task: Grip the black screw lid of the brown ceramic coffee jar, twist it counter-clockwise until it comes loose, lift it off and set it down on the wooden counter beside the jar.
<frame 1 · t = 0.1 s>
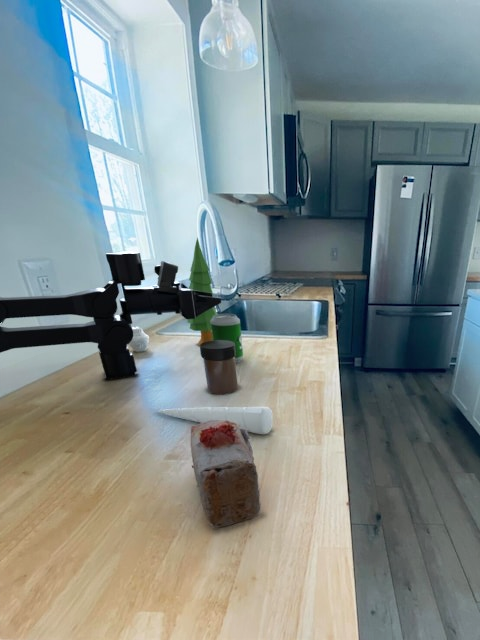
hand: (216, 297, 92), 17 cm above the countertop, tool horizontal, fingers open, 9 cm apart
jar lid: (217, 346, 78), point 10 cm above the countertop, screwed on, not yet turned
decorative tree: (206, 345, 115), on the countertop
coffee jar: (223, 388, 82), on the countertop
food item: (229, 493, 49), on the countertop
soda can: (229, 361, 101), on the countertop
unicorn horn: (214, 425, 67), on the countertop
garlic bulb: (140, 351, 108), on the countertop
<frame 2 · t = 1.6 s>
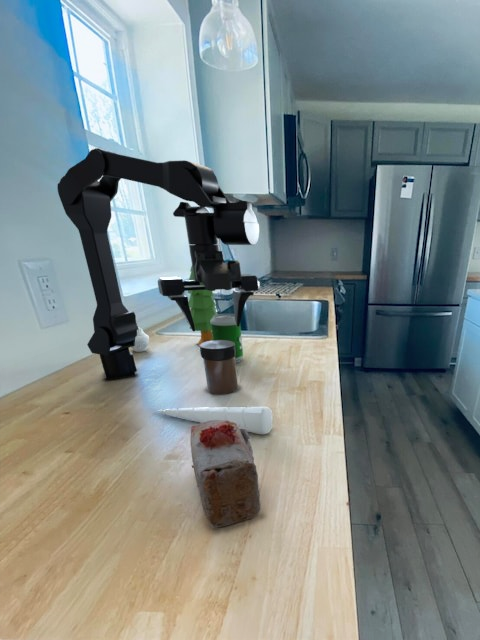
hand: (216, 328, 76), 13 cm above the countertop, tool pointing down, fingers open, 9 cm apart
nothing on the countertop moved.
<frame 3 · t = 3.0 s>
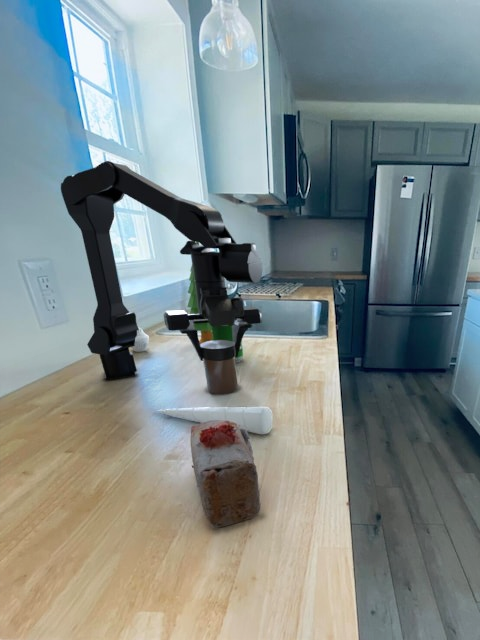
hand: (219, 358, 79), 7 cm above the countertop, tool pointing down, fingers closed on jar lid, 7 cm apart
jar lid: (217, 346, 78), point 10 cm above the countertop, screwed on, not yet turned, touching gripper
everything else where it was.
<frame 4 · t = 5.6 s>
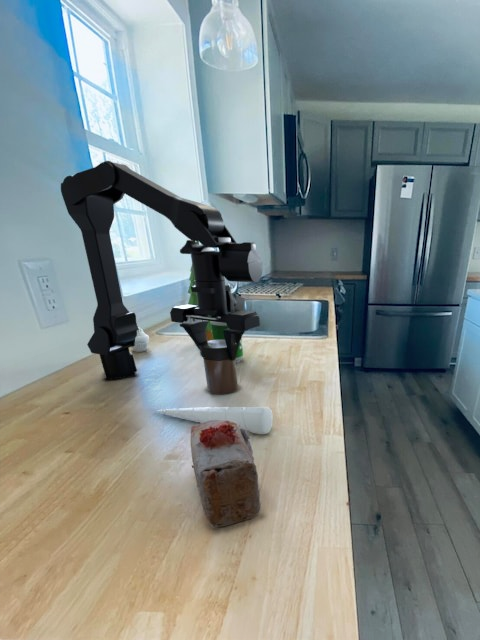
hand: (219, 357, 79), 7 cm above the countertop, tool pointing down, fingers closed on jar lid, 7 cm apart
jar lid: (217, 346, 78), point 10 cm above the countertop, off its thread, touching gripper
everything else where it was.
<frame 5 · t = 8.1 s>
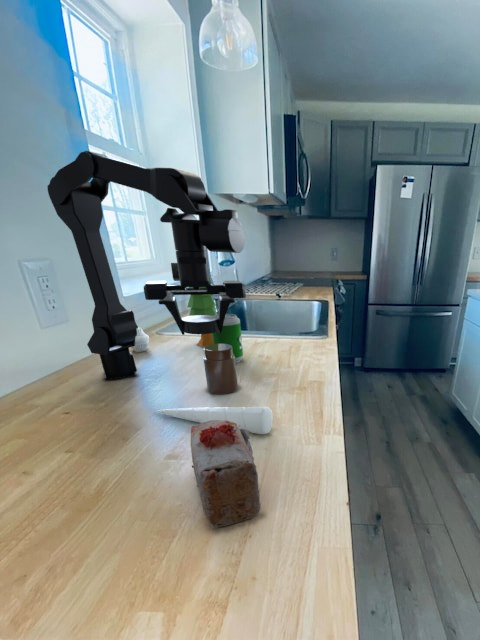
hand: (202, 333, 77), 12 cm above the countertop, tool pointing down, fingers closed on jar lid, 7 cm apart
jar lid: (200, 321, 76), point 15 cm above the countertop, off its thread, touching gripper
everything else where it was.
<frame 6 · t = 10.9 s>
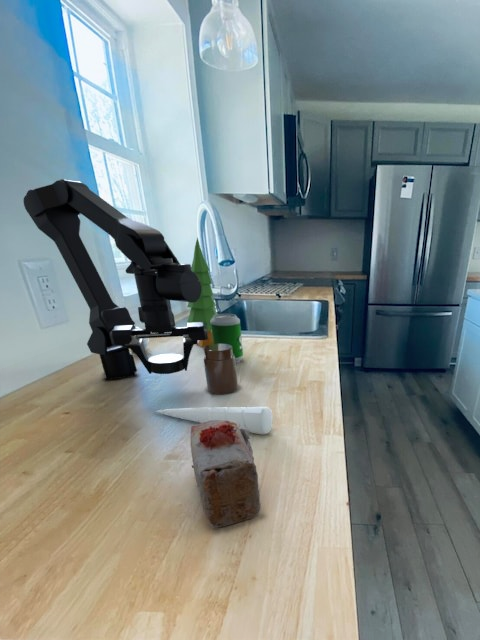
hand: (168, 371, 82), 3 cm above the countertop, tool pointing down, fingers closed on jar lid, 7 cm apart
jar lid: (166, 360, 81), point 6 cm above the countertop, off its thread, touching gripper
everything else where it was.
when the fingers open (0 cm above the countertop, at t = 13.3 s): jar lid stays where it is, point 2 cm above the countertop.
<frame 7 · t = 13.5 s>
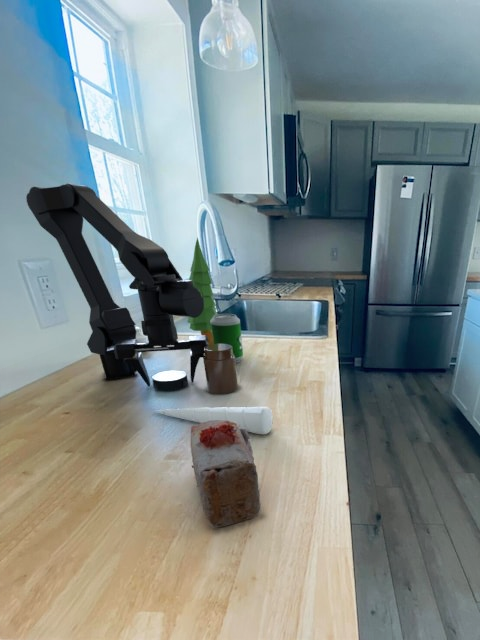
hand: (171, 383, 83), 0 cm above the countertop, tool pointing down, fingers open, 9 cm apart
jar lid: (169, 377, 83), point 2 cm above the countertop, off its thread
everything else where it was.
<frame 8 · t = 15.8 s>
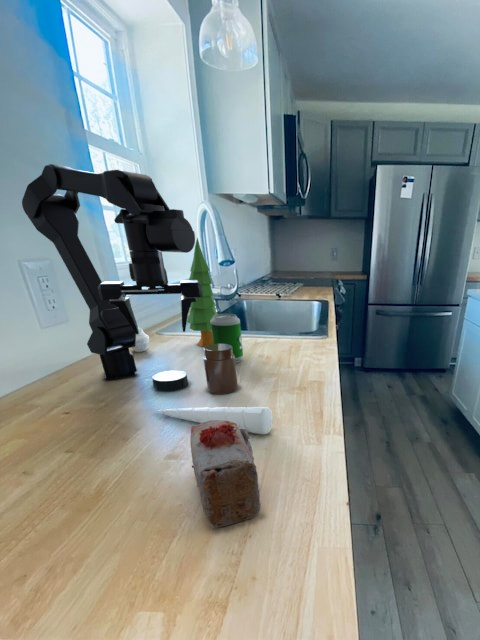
hand: (161, 332, 78), 12 cm above the countertop, tool pointing down, fingers open, 9 cm apart
nothing on the countertop moved.
at the end: jar lid inside the target area (0.0 cm from its centre), point 1.9 cm above the countertop; the gripper is holding nothing; coffee jar tilted 0° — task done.
